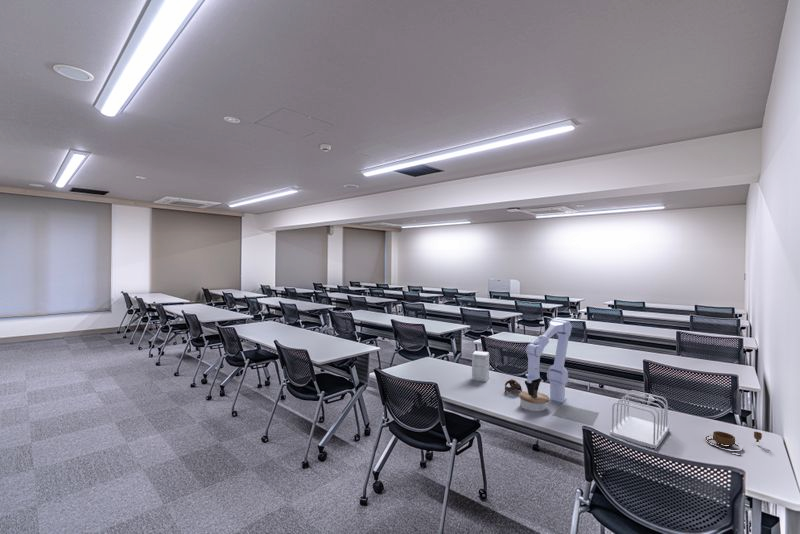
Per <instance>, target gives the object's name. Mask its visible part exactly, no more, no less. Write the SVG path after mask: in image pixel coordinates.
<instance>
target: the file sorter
mask: <svg viewBox="0 0 800 534" xmlns="http://www.w3.org/2000/svg"><path fill="white" fill-rule="evenodd" d="M637 393H638V394H637ZM641 394H642V395H641ZM630 395H632V396H630ZM633 396H636V397H633ZM649 396H651V397H649ZM638 397H641V398H644V399H649V400H653V401H657V402H660V403H661V404H662V405H663V407H662V405H660V404H659V403H655V402H651V401H648V400H644V399H641V398H638ZM654 397H655V398H654ZM659 398H660V399H659ZM630 399H631V400H630ZM632 399H633V400H636V401H640V402H643V403H647V404H643V403H639V402H636V401H632ZM661 399H662V400H661ZM623 402H624V403H623ZM630 403H631V404H635V405H639V406H642V407H645V408H641V407H639V406H634V405H631V404H630ZM648 404H651V405H654V406H657V407H658V408H659V409H660V411H659V410H658V409H657V408H656V407H654V406H651V405H648ZM668 404H669V403H668V400H667V399H666V398H665V397H663V396H661V395H660V396H659V395H656V394H651V393H647V392H641V391H638V390H633V389H632V390H629V391H628V392H627V393H626V394H625V395H624V396H622V397H621V398H620V399H619V400H618V401H617V402H614V403H613V404H612V409H611V410H612V412H611V415H612V416H611V430H610V431H609V435H610V436H614V437H617V438H619V439H623V440H624V441H628V442H631V443H633V444H636V445H640V446H642V447H646V446H647V448H649V447H650V449H652V448H655V449H654V450H657V449H658V448H657V447H659V446H661V445H660V444H661V443H662V441H663V440H664V439H665V437H666V436H667V435H668V433H669V432H670V426H668V411H669V408H668V406H669V405H668ZM615 405H616V419H614V417H615V416H614V415H615ZM619 405H620V413H619ZM623 407H624V408H623ZM626 407H627V408H626ZM630 408H634V409H637V410H642V411H645V412H649V413H650V414H651V415H652V417H653V421H649V420H645V419H642V418H638V417H635V416H634V417H633V416H631V415H630ZM646 408H649V409H653V410H654V411H655V412H656V413H657V423H656V415H655V413H654V412H653V411H651V410H649V409H646ZM626 410H627V411H626ZM626 412H627V413H626ZM626 414H627V415H626ZM619 415H620V418H619ZM615 420H616V422H615ZM614 423H615V426H614ZM656 448H657V449H656Z"/></svg>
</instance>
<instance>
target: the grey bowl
mask: <svg viewBox="0 0 800 534" xmlns="http://www.w3.org/2000/svg"><path fill="white" fill-rule="evenodd" d="M519 399H520V407H521V409H524V410H526V411H531V412H542V411H545V410H546V408H547V407H546V403H541V404H539V403H531V402H527V401H524V400H522V399H521V398H519Z"/></svg>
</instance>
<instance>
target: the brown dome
mask: <svg viewBox="0 0 800 534" xmlns="http://www.w3.org/2000/svg"><path fill="white" fill-rule="evenodd" d="M508 384H509V386H507V385H508ZM517 391H518V392H520V393H521V392H523V388H522V386H521V384H520V383H519V382H518V381H517V380H515V379H513V378H512V379H509V380H507V381H506V382H505V384H504V392H505V393H507V392H508V393H510V392H517Z"/></svg>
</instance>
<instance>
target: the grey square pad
mask: <svg viewBox="0 0 800 534" xmlns="http://www.w3.org/2000/svg"><path fill="white" fill-rule="evenodd" d="M599 414H600V413H599V412H596V411H593V410H592V411H591V410H588V409H584V408H580V407H576V406H572V405H571V406H570V405H566V404H564V403H563V404H562V403H561V404H560V405H559V406H558V407H557V408H556V410H555V411H554V412H553V413H552V416H554V417H557V418H561V419H564V420H569V421H573V422H577V423H581V424H585V425H589V426H593V425H594V424H595V422H596V421H597V420H596V419H597V418H598V416H599Z"/></svg>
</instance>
